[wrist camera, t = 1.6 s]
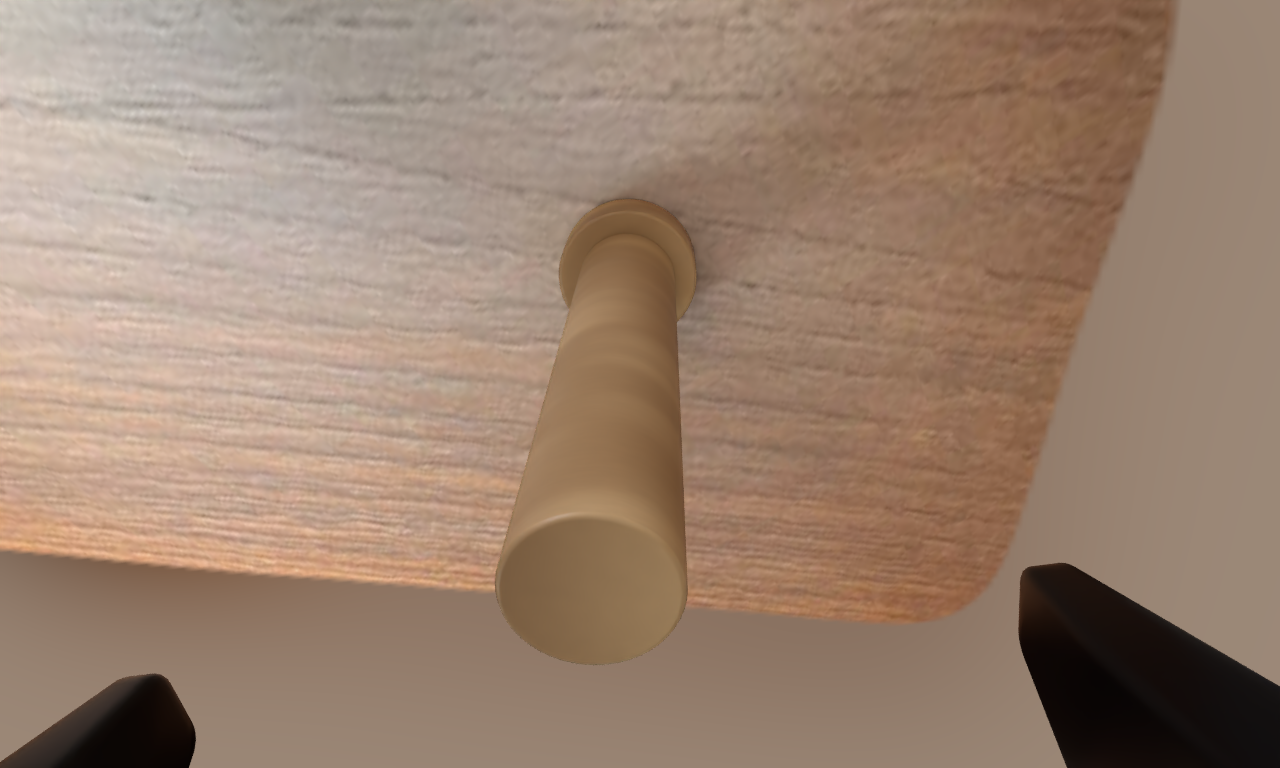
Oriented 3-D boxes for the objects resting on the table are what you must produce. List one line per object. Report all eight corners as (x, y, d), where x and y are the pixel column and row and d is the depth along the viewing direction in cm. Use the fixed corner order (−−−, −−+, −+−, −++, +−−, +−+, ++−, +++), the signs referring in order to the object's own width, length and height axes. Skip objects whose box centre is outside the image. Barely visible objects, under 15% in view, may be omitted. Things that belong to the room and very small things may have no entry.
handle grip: (684, 188, 20) (712, 456, 9) (703, 314, 21) (746, 684, 10) (551, 209, 20) (414, 494, 9) (577, 332, 21) (487, 711, 10)
